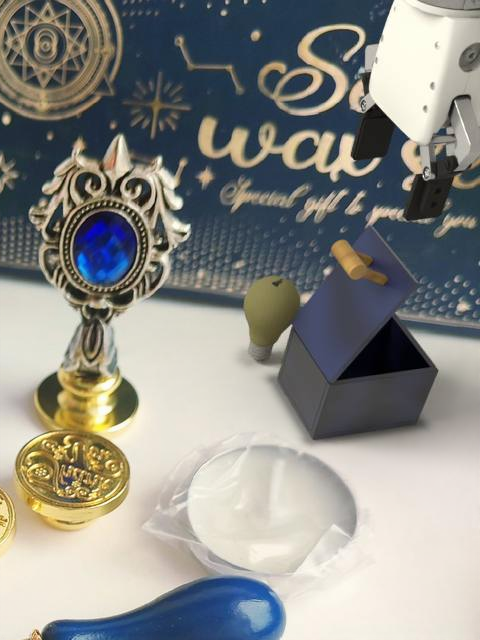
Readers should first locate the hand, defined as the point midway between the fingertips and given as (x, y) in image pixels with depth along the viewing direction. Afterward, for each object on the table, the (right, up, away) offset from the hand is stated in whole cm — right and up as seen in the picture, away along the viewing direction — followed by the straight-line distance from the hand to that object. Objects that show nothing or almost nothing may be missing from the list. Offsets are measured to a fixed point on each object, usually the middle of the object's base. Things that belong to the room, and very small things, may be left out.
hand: (393, 186), depth 91 cm
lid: (0, -8, +10) cm, 13 cm away
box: (+3, -16, +19) cm, 26 cm away
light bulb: (-5, -11, +24) cm, 27 cm away
